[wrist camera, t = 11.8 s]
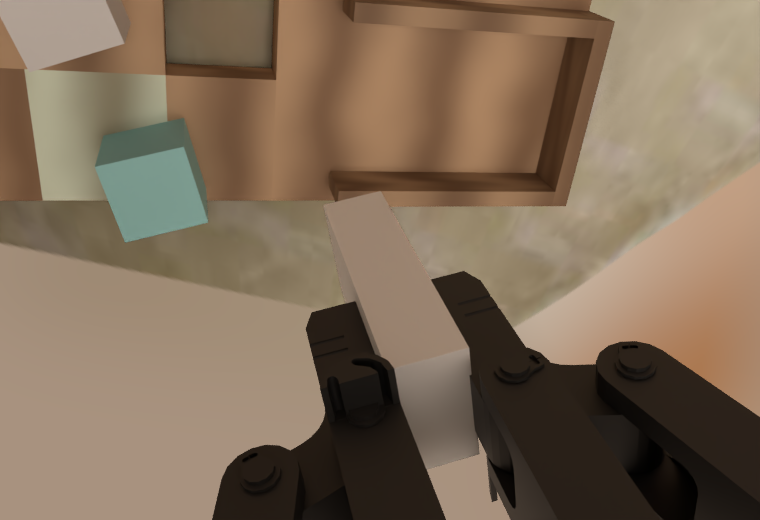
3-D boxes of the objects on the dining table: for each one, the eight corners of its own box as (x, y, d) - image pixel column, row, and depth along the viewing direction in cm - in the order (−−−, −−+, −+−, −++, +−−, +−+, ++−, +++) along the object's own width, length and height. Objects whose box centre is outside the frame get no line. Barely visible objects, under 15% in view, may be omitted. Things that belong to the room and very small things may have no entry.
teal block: (130, 206, 41) (125, 242, 37) (103, 135, 39) (94, 166, 35) (206, 188, 42) (208, 222, 38) (183, 117, 39) (183, 146, 35)
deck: (3, 182, 41) (-19, 225, 36) (-40, -79, 34) (-75, -67, 30) (527, 185, 50) (562, 219, 45) (575, -23, 43) (622, -7, 38)
